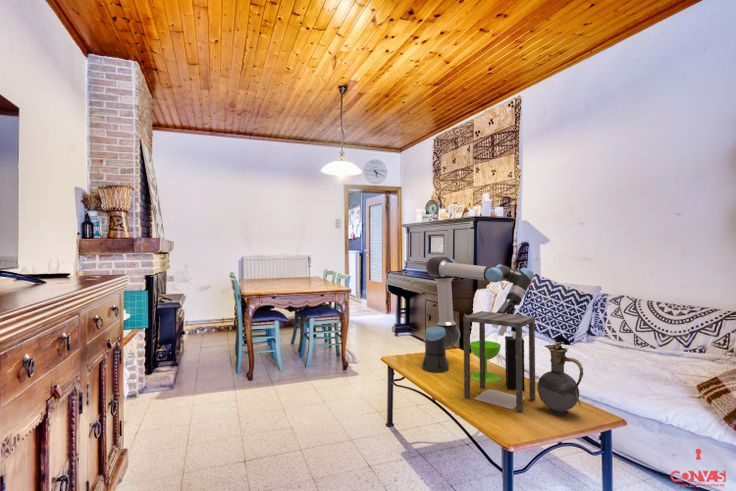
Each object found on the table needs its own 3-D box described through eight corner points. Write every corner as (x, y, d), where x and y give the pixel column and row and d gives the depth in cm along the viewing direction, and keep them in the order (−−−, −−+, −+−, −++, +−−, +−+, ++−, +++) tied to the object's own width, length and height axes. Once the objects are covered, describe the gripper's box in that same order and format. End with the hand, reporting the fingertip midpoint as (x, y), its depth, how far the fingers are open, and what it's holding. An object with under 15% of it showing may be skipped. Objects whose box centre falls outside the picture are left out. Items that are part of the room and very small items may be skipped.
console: (463, 398, 181) (463, 316, 181) (482, 386, 196) (481, 311, 197) (520, 413, 164) (519, 323, 164) (535, 399, 179) (534, 316, 180)
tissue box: (524, 391, 190) (524, 333, 190) (507, 390, 191) (507, 332, 192) (521, 385, 198) (521, 330, 198) (505, 384, 199) (504, 329, 199)
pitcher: (550, 403, 175) (549, 336, 175) (591, 419, 158) (590, 345, 158) (533, 408, 170) (532, 339, 170) (574, 425, 153) (573, 348, 153)
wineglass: (501, 384, 200) (500, 349, 200) (468, 380, 205) (468, 346, 205) (501, 374, 215) (500, 341, 215) (471, 371, 220) (470, 339, 220)
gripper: (518, 289, 193) (498, 327, 189) (526, 306, 212) (509, 341, 208) (503, 284, 198) (484, 320, 194) (513, 301, 217) (496, 334, 213)
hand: (497, 331), depth 201 cm, fingers open, 13 cm apart
